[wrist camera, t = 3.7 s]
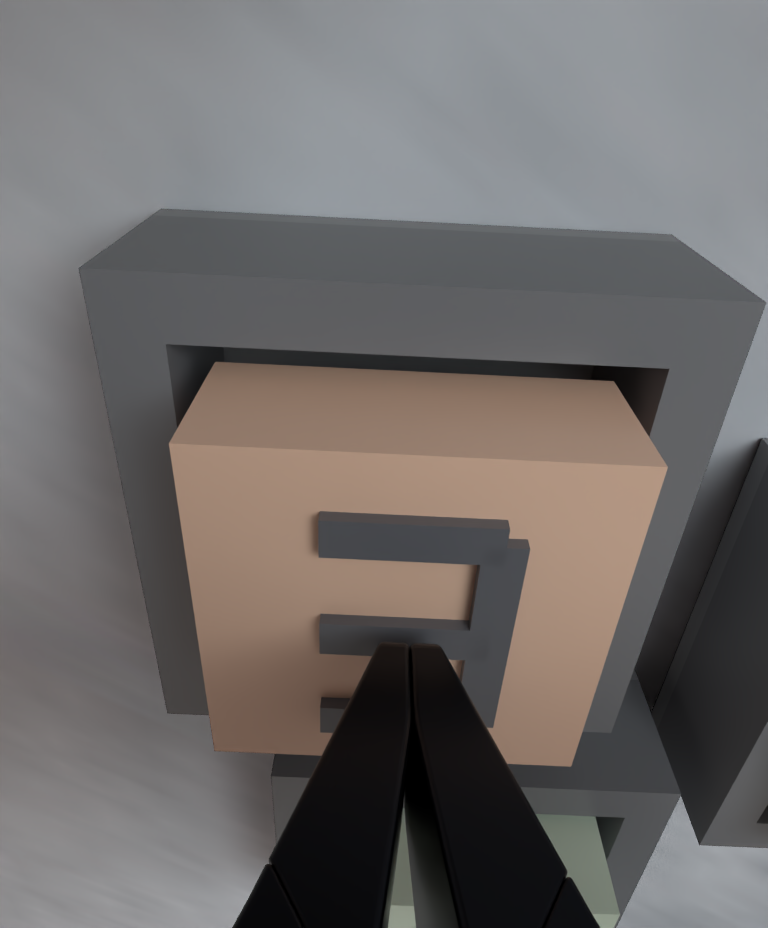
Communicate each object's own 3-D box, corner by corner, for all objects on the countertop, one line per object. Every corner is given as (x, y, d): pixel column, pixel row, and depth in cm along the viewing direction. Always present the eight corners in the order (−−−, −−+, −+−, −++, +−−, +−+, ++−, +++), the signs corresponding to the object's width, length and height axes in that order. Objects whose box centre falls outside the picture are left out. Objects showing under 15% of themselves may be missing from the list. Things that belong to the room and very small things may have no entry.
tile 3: (545, 655, 13) (573, 777, 11) (242, 642, 13) (211, 761, 11) (613, 380, 10) (673, 476, 8) (215, 361, 10) (163, 452, 8)
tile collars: (862, 859, 23) (934, 986, 20) (240, 833, 22) (216, 957, 19) (1341, 268, 12) (1664, 347, 9) (161, 209, 12) (78, 268, 9)
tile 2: (548, 923, 19) (567, 1037, 17) (338, 914, 19) (331, 1027, 17) (592, 803, 16) (622, 925, 14) (341, 793, 16) (331, 913, 14)
